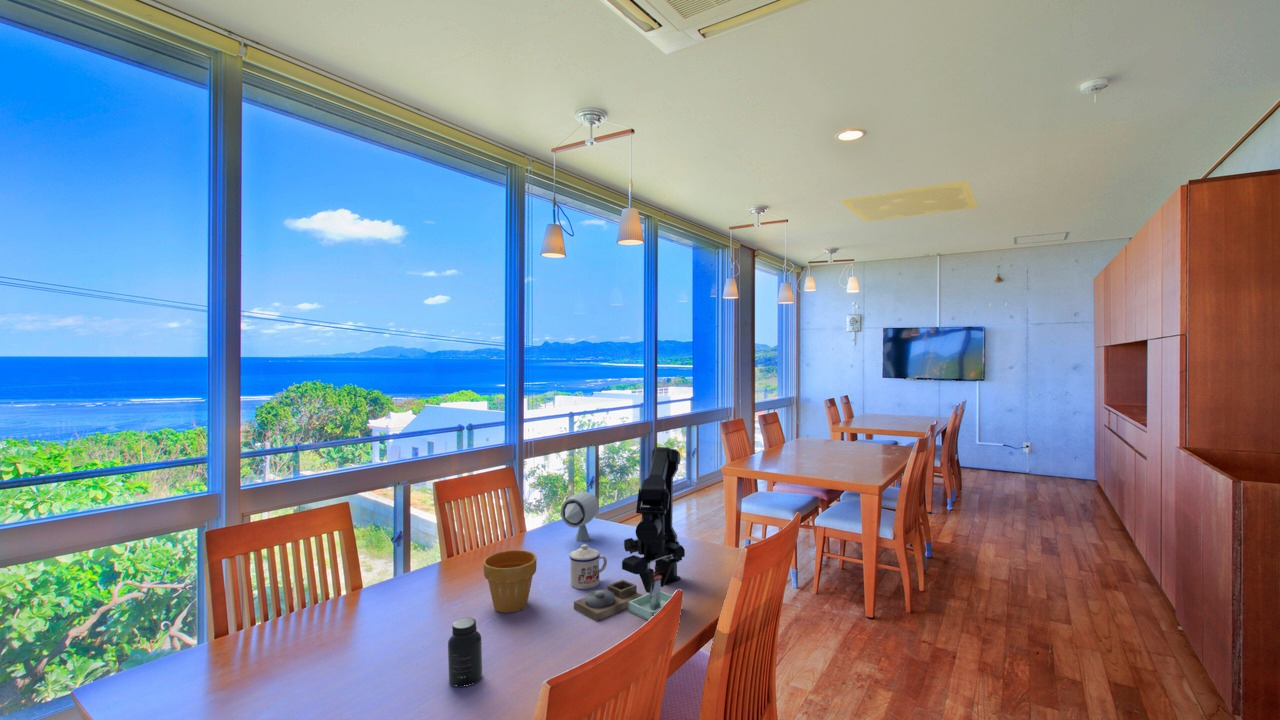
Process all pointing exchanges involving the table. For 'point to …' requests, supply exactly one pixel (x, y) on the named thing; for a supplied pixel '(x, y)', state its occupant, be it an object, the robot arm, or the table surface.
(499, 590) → the flower pot
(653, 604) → the pin
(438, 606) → the table surface
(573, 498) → the jet engine
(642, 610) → the tray
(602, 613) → the block
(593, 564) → the teacup with lid
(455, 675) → the supplement bottle
